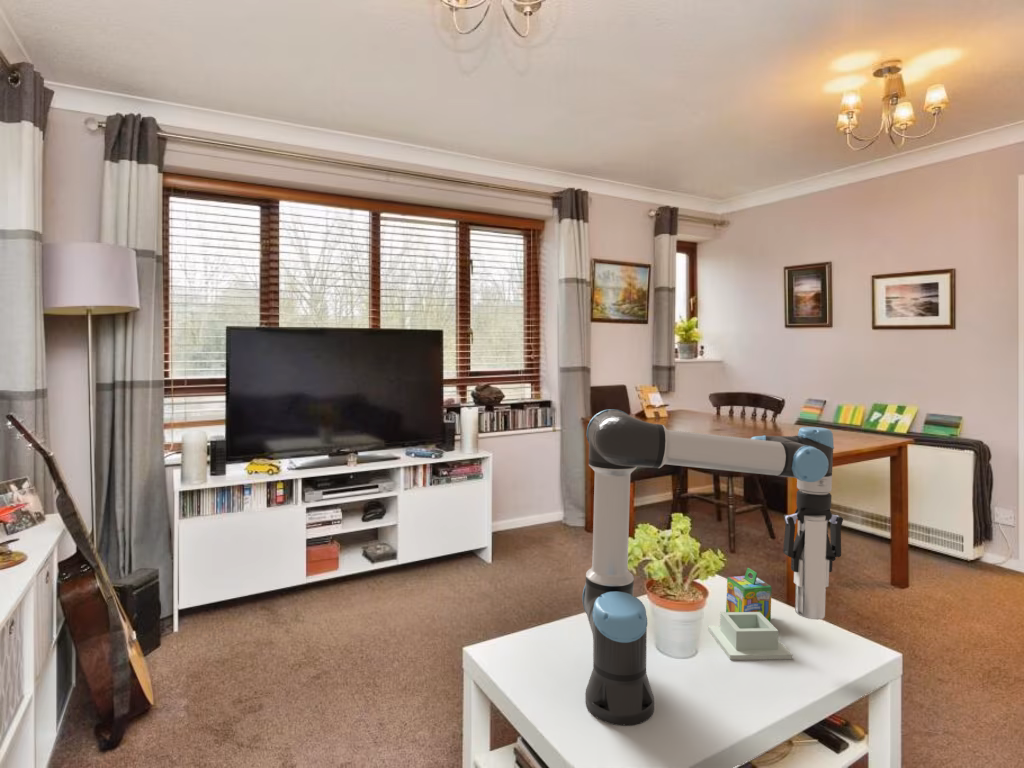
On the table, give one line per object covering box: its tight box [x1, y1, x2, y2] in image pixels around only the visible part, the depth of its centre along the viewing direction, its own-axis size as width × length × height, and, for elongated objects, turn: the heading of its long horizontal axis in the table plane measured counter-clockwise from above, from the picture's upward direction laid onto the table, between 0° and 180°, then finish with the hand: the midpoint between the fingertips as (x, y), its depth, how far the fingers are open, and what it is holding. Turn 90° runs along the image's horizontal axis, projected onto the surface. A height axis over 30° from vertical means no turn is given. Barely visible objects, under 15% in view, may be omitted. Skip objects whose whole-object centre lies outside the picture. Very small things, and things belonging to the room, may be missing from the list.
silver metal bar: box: [794, 515, 829, 620], centre depth 141 cm, size 6×6×25 cm
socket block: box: [707, 611, 793, 661], centre depth 155 cm, size 16×16×6 cm
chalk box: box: [725, 567, 773, 624], centre depth 169 cm, size 9×9×15 cm
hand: (810, 584), depth 142 cm, fingers closed on silver metal bar, 6 cm apart
